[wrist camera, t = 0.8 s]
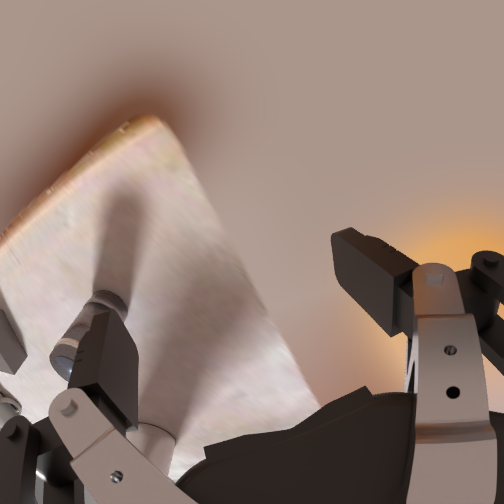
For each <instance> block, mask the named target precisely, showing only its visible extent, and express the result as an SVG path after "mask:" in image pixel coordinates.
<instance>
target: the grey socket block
mask: <svg viewBox="0 0 504 504" xmlns="http://www.w3.org/2000/svg"><path fill="white" fill-rule="evenodd" d="M26 358H27V355H26V353H25V351H24V349H23V348H22V346H21V344H20V343H19V341H18V339H17V337H16V335H15V334H14V332H13V330H12V328H11V326H10V324H9V322H8V320H7V318H6V316H5V314H4V312H3V310H1V309H0V371H2V372H5V373H9V374H13V375H15V373H16V372H17V370H18V369H19V368H20V366H21V365H22V363H23V362H24V360H25V359H26Z"/></svg>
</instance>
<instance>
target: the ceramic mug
mask: <svg viewBox="0 0 504 504" xmlns="http://www.w3.org/2000/svg"><path fill="white" fill-rule="evenodd" d="M9 403H11V404H13V405H15V406H16V407H17V408H18V410H19V412H18V413H17V412H16V410H15V409H14V408H13V407H12V406H11V405H10V404H9ZM20 414H21V407H20V405H19V404H18V403H17V401H15V400H14V399H12V398H9V397H3V396H2V395H1V394H0V427H1V428H2V427H3V426H4V424H5V423H6V422H7V421H8V420H9V419H10V418H12V417H14V416H18V415H20Z"/></svg>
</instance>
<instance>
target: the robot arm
mask: <svg viewBox="0 0 504 504" xmlns="http://www.w3.org/2000/svg"><path fill="white" fill-rule="evenodd" d="M331 245H332V253H333V261H334V270H335V275H336V277H337V280H338V282H339V284H340V286H341V287H342V288H343V289H344V290H345V291H346V292H347V293H348V294H349V295H350V296H351V297H352V298H353V299H354V300H355V301H356V302H357V303H358V304H359V305H360V306H361V307H362V308H363V309H364V310H365V311H366V312H367V313H368V314H369V315H370V316H371V317H372V318H373V319H374V320H375V321H376V323H377V324H378V325H379V326H380V327H381V328H382V329H383V330H384V331H385V332H386V333H387V334H388V335H389V336H390V337H393V336H395V335H397V334H399V333H401V332H404V334H405V335H406V336H407V348H406V371H405V385H404V392H388V393H381V394H375V395H372V394H371V392H370V391H369V390H368V388H367V387H366V386H364V387H362V388H360V389H358V390H355V391H354V392H351V393H349V394H347V395H345V396H343V397H341V398H339V399H336V400H334V401H332V402H330V403H328V404H326V405H325V406H324V407H322V408H321V409H320V410H318V411H317V412H315V413H314V414H312V415H311V416H310V417H308V418H307V419H305V420H304V421H302V422H301V423H299V424H298V425H296V426H295V427H293V428H291V429H287V430H281V431H274V432H267V433H258V434H249V435H243V436H240V437H236V438H233V439H230V440H226V441H223V442H219V443H216V444H212V445H208V446H205V447H204V451H205V456H206V459H204V460H202V461H200V462H199V463H197V464H196V465H194V466H193V467H192V468H190V469H189V470H188V471H187V472H185V473H184V475H183V476H182V477H181V478H180V479H179V480H178V481H177V482H176V483H175V482H174V481H173V480H171V479H170V478H169V477H168V473H169V469H170V464H171V460H172V456H173V451H174V447H175V439H174V438H173V437H172V436H171V435H170V434H169V433H168V432H166V431H164V430H162V429H160V428H158V427H155V426H152V425H148V424H143V423H138V363H139V356H138V351H137V348H136V345H135V343H134V341H133V339H132V337H131V336H130V334H129V332H128V330H127V329H126V327H125V325H124V323H123V322H122V320H121V318H120V316H119V314H118V313H117V311H116V310H115V309H110V310H107V311H104V312H101V313H98V314H95V315H94V316H93V319H92V323H91V327H90V330H89V331H87V332H86V333H85V334H84V336H83V337H82V339H81V340H80V341H79V344H78V348H77V351H76V354H77V355H75V359H74V363H73V367H72V371H71V375H70V379H69V383H68V388H67V390H65V391H63V392H61V393H60V394H59V395H58V396H56V398H55V399H54V400H53V401H52V403H51V405H50V408H49V416H48V417H46V418H44V419H42V420H40V421H38V422H36V423H34V424H32V423H31V422H30V421H29V420H28V419H27V418H25V417H24V416H21V415H18V416H14V417H12V418H10V419H9V420H8V421H7V422H6V423H5V424H4V426H3V427H2V429H1V431H0V504H38V503H37V501H36V498H35V480H36V476H38V477H39V478H40V479H42V480H43V481H44V494H43V504H85V502H84V486H85V487H86V488H87V490H88V491H89V492H90V493H91V495H92V496H93V498H94V499H95V500H96V502H97V503H98V504H504V413H498V412H493V411H489V409H488V398H487V389H486V380H485V372H484V366H483V359H482V354H483V355H484V356H485V357H486V358H487V359H488V360H489V361H490V362H491V363H492V364H493V365H494V366H495V367H496V368H497V369H498V370H499V371H500V372H501V373H502V375H503V376H504V320H503V319H502V318H501V317H500V316H499V315H497V312H498V308H499V304H500V302H501V303H502V304H503V305H504V256H503V255H501V254H499V253H497V252H493V251H479V252H477V253H475V254H474V255H473V256H472V259H471V267H470V269H466V270H461V271H457V272H454V271H453V270H452V269H451V268H450V267H448V266H446V265H444V264H440V263H426V264H422V265H419V264H418V263H416V262H415V261H413V260H412V259H410V258H409V257H407V256H406V255H404V254H403V253H401V252H399V251H396V249H395V248H394V247H392V246H389V244H387V243H386V242H384V241H383V240H381V239H379V238H376V237H372V236H368V235H366V236H364V235H363V234H361V233H360V232H358V231H357V230H355V229H354V228H351V227H350V228H347V229H344V230H341V231H338V232H335V233H333V234H332V235H331ZM126 432H127V433H126Z"/></svg>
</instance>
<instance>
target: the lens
mask: <svg viewBox="0 0 504 504" xmlns="http://www.w3.org/2000/svg"><path fill="white" fill-rule="evenodd" d="M110 309H115V310H116V311H117V313H118V314H119V316H120V318H121V320H122V322H123V323H124V321H125V319H126V317H127V308H126V305H125V303H124V302H123V301H122V299H121V298H120V297H119V296H117V295H116V294H114V293H112V292H110V291H106V290H100V291H98V292H96V293H95V294H94V295H93V296H92V298H90V299H89V300H88V301H87V303H86V304H85V305H84V307H83V309H82V311H81V312H80V313H79V315H78V316H77V317H76V319H75V320H74V322H73V323H72V324H71V326H70V327H69V328H68V330H67V331H66V333H65V334H64V335H63V337H62V338H61V339H60V340H59V341H58V342H57V344H56V345H55V347H54V350H53V351H52V353H51V354H50V363H51V365H52V367H53V368H54V370H55V371H56V372H57V373H58V374H59V375H60V376H61V377H62V378H64V379H65V380H66V381H68V382H69V379H70V375H71V371H72V367H73V363H74V359H75V355H77V354H76V351H77V348H78V344H79V341H80V340H81V339H82V337H83V336H84V334H85V333H86V332H87V331H89V330H90V327H91V323H92V319H93V316H94V315H95V314H98V313H101V312H104V311H107V310H110Z"/></svg>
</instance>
